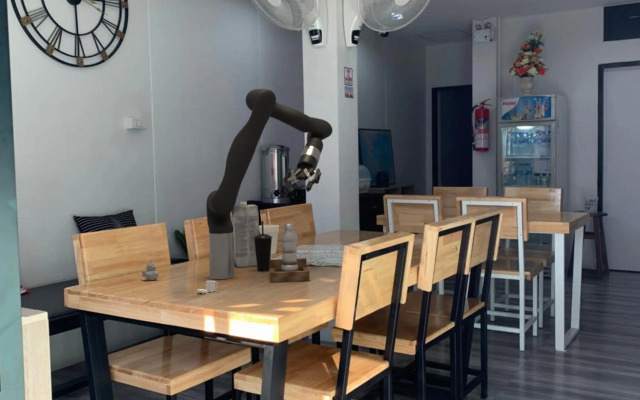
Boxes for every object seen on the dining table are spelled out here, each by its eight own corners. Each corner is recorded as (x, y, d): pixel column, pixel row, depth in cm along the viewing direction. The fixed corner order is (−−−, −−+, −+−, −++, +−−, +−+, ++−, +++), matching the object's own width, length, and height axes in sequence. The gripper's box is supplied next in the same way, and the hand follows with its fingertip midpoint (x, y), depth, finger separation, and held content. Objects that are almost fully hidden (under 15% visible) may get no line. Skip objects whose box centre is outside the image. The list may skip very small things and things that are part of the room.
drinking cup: (270, 272, 254) (269, 222, 252) (251, 271, 255) (250, 221, 254) (275, 268, 261) (274, 220, 260) (257, 268, 263) (256, 220, 261)
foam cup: (283, 252, 305) (282, 225, 305) (271, 255, 298) (271, 227, 297) (267, 251, 310) (266, 224, 310) (255, 253, 303) (254, 226, 302)
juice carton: (261, 266, 268) (259, 201, 266) (236, 268, 264) (235, 203, 262) (255, 263, 276) (253, 200, 274) (231, 264, 272) (229, 201, 270)
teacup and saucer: (197, 296, 213) (197, 284, 213) (195, 291, 221) (195, 280, 220) (223, 294, 215) (223, 282, 215) (221, 290, 223) (220, 278, 223)
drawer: (271, 282, 232) (270, 264, 232) (269, 276, 244) (269, 259, 244) (309, 281, 234) (309, 263, 233) (306, 275, 246) (306, 258, 246)
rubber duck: (155, 281, 238) (154, 260, 237) (138, 281, 239) (138, 260, 239) (161, 278, 243) (160, 258, 243) (145, 278, 244) (144, 257, 244)
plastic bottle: (289, 274, 244) (287, 222, 243) (302, 276, 240) (301, 223, 238) (277, 277, 239) (276, 224, 238) (290, 279, 235) (289, 225, 233)
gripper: (290, 153, 256) (277, 183, 246) (322, 153, 251) (311, 183, 241) (295, 166, 261) (283, 196, 252) (328, 166, 256) (317, 196, 246)
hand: (297, 190), depth 246 cm, fingers open, 8 cm apart
